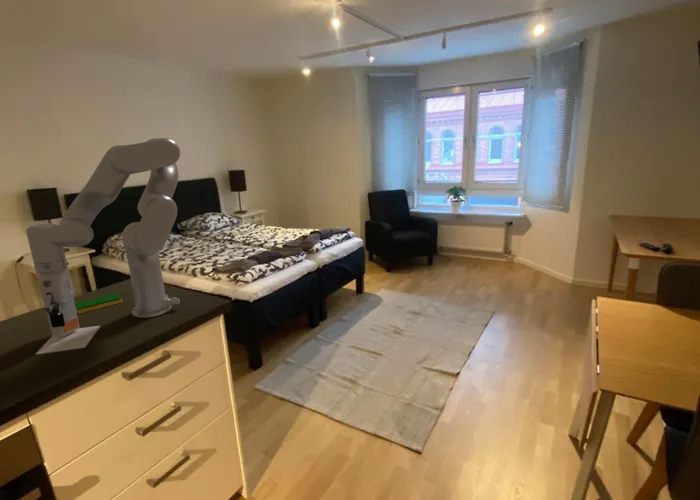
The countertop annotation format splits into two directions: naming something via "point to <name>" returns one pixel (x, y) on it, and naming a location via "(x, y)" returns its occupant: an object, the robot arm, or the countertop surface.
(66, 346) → the paper
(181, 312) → the countertop surface
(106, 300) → the dish sponge
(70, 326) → the skincare box
